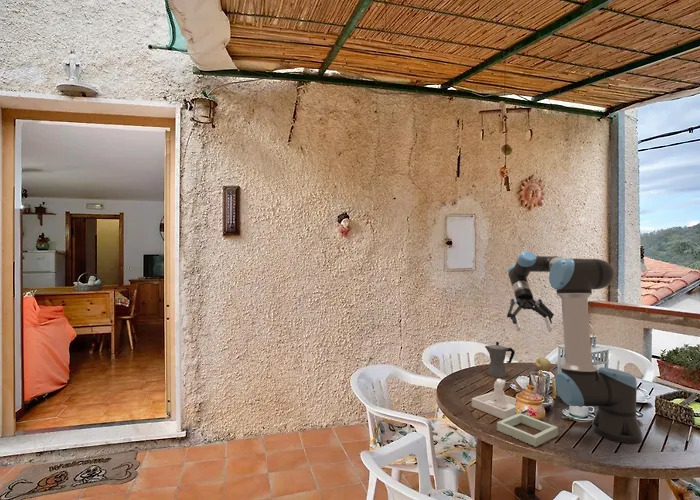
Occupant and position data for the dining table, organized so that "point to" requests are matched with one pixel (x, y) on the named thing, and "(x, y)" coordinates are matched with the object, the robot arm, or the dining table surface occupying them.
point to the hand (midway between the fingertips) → (534, 329)
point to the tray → (493, 410)
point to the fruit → (543, 364)
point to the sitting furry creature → (499, 395)
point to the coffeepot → (498, 359)
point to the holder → (535, 440)
